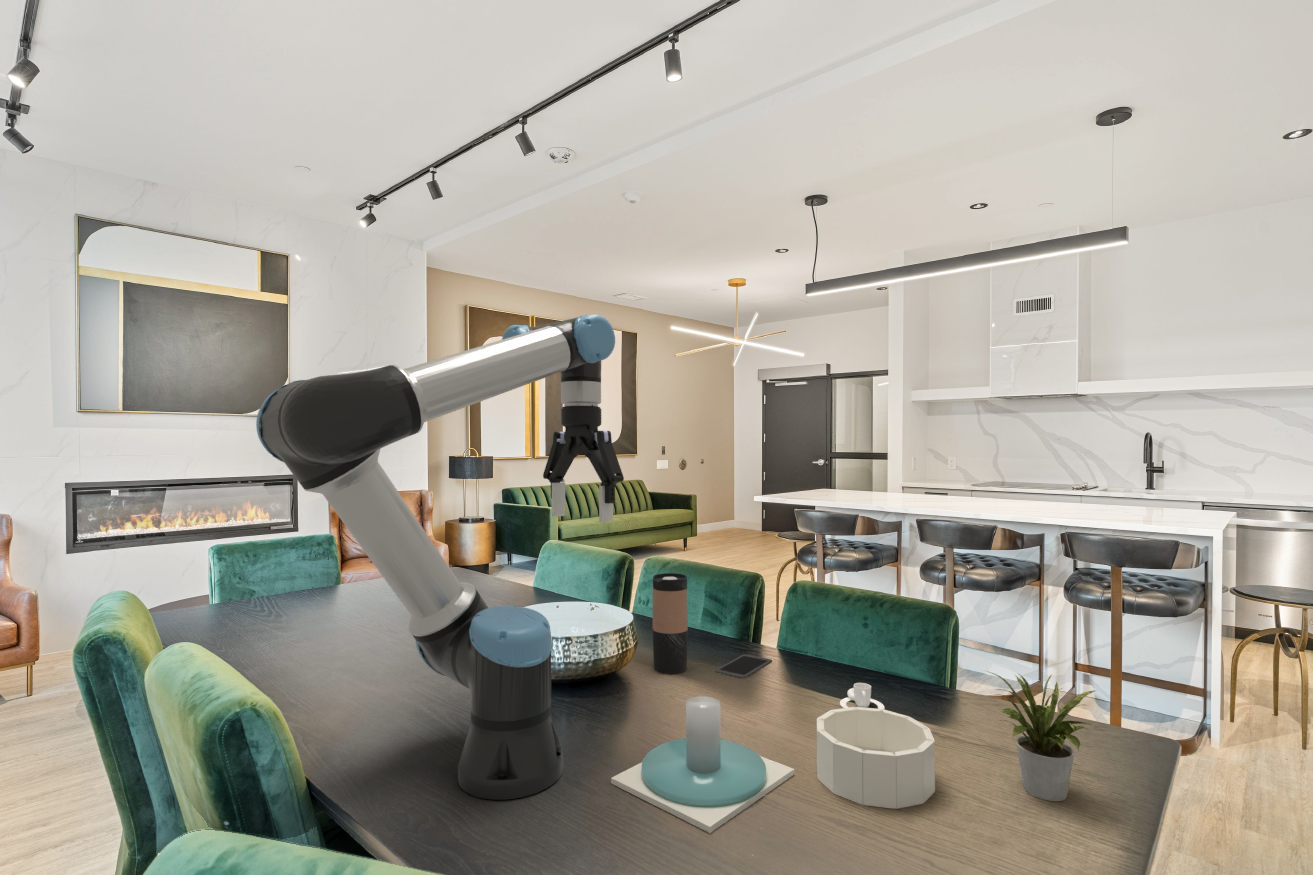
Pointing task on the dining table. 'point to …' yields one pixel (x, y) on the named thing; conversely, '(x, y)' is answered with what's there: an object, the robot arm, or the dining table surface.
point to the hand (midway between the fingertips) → (581, 518)
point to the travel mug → (670, 623)
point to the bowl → (875, 757)
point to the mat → (700, 816)
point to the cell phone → (743, 666)
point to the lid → (703, 763)
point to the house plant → (1044, 743)
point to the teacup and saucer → (860, 696)
